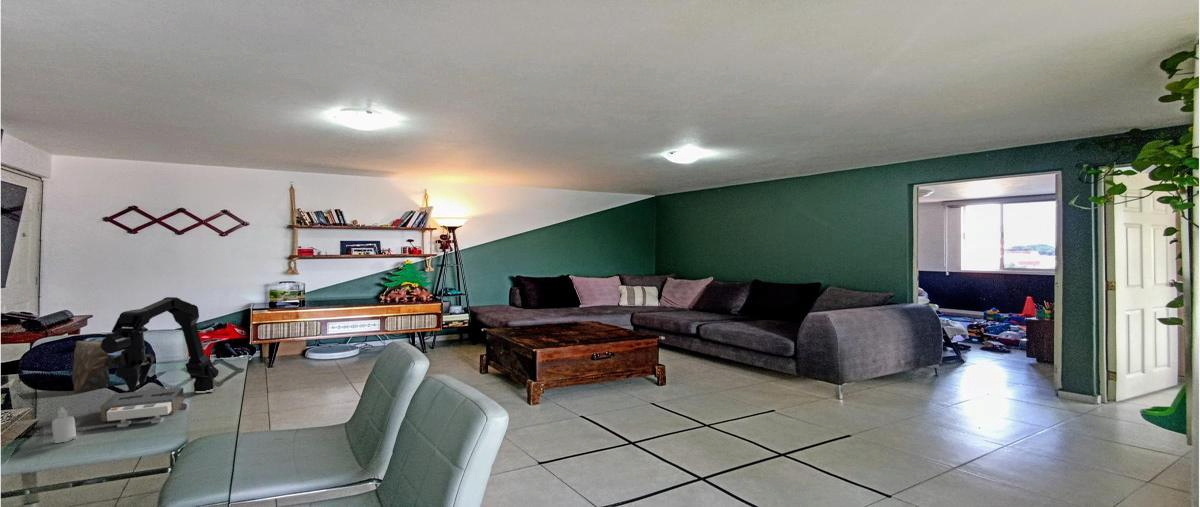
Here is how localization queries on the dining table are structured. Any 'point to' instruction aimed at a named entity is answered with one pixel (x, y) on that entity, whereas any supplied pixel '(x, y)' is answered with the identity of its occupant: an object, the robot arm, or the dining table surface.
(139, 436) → the dining table surface
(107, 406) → the keyhole board
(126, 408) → the power strip
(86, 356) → the brown paper bag
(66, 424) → the eye dropper bottle
